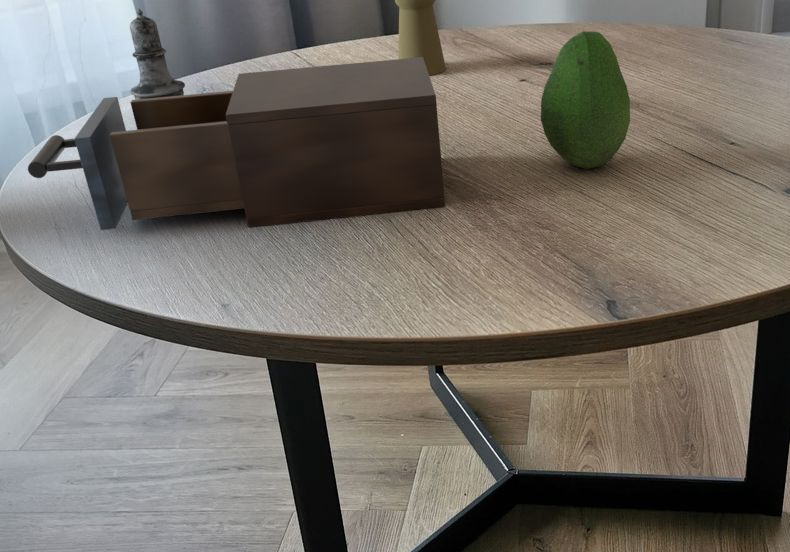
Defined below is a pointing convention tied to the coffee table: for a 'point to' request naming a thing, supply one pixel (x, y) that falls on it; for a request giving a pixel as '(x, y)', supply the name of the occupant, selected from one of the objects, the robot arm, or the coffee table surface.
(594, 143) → the fruit
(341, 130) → the cabinet
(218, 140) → the drawer
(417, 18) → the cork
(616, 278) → the coffee table surface
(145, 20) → the salt shaker
